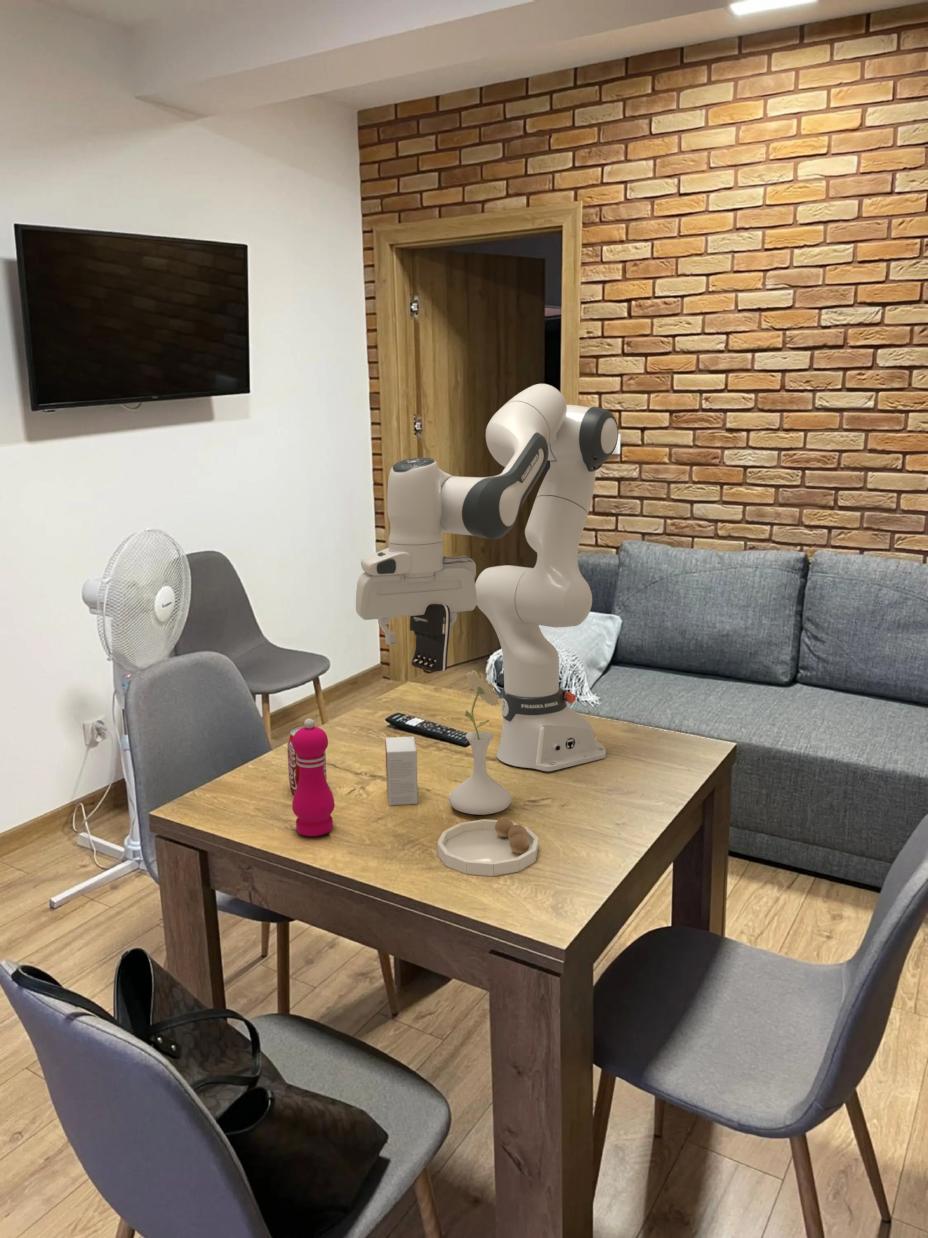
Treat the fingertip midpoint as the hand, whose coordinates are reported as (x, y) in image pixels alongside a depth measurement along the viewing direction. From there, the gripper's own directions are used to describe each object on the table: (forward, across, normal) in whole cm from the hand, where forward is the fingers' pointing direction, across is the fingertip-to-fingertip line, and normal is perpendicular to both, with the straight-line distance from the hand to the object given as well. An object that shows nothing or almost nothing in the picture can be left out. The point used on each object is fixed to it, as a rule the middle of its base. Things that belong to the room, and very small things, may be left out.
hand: (418, 640), depth 161 cm
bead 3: (+32, -11, +17) cm, 38 cm away
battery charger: (+5, -1, +1) cm, 5 cm away
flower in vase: (+33, -12, -4) cm, 36 cm away
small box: (+33, 0, -13) cm, 36 cm away
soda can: (+33, +16, -22) cm, 43 cm away
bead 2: (+32, -12, +14) cm, 37 cm away
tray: (+33, -7, +14) cm, 37 cm away
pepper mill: (+33, +18, -5) cm, 38 cm away
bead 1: (+32, -11, +11) cm, 36 cm away
